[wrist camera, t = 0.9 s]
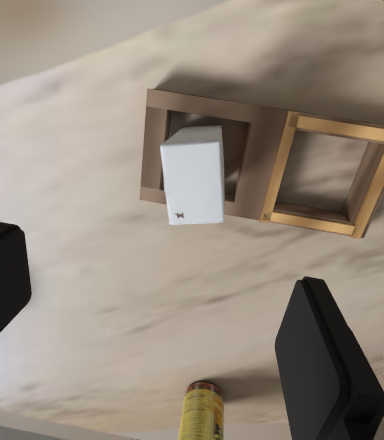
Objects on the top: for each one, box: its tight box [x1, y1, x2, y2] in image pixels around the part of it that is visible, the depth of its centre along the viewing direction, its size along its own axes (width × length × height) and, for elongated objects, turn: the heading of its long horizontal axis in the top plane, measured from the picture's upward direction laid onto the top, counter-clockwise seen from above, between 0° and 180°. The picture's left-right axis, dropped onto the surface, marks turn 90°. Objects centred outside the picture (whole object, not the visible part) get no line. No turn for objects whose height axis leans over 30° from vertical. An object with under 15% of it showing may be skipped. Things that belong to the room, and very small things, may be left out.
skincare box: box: [160, 125, 225, 225], centre depth 25 cm, size 6×4×12 cm
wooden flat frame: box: [140, 89, 384, 239], centre depth 29 cm, size 24×11×3 cm, turn 82°
